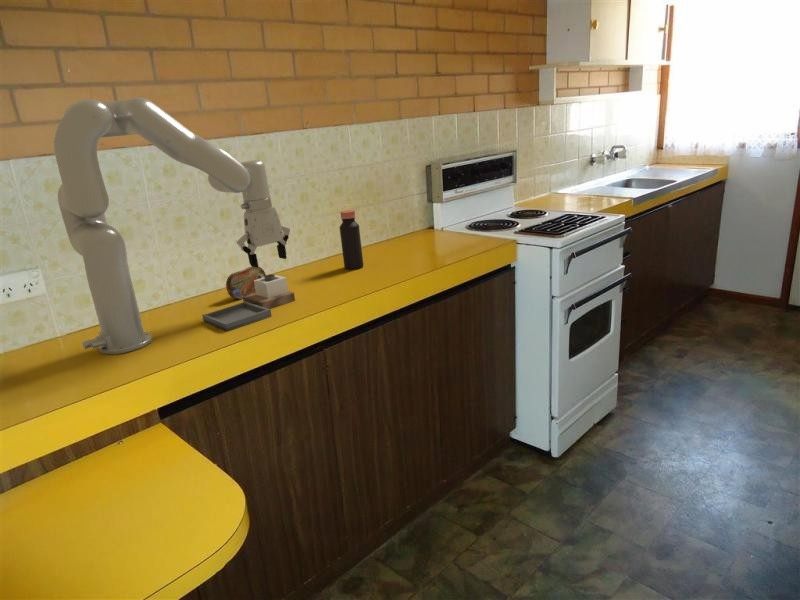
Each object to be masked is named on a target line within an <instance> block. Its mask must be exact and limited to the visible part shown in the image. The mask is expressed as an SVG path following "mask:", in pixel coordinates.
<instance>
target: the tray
mask: <svg viewBox="0 0 800 600" xmlns="http://www.w3.org/2000/svg"><path fill="white" fill-rule="evenodd" d="M271 310H272V309H267V308H264V307H261V306H258V305H255V304H252V303H248V302H243V301H242V302H240V303H237V304H234V305H231V306H230V305H229V306H227V307H224V308H220V309H217V310H214V311H211V312H208V313H205V314H202V316H201V317H202V320H203V323H205V324H208V325H209V326H212V327H216V328H217V329H220V330H221V331H222V330H223V331H225V332H230V331H233V330H235V329H239V328H241V327H245V326H248V325H250V324H254V323H256V322H259V321H262V320H266V319H267V318H271V317H272V312H271Z"/></svg>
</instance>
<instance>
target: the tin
mask: <svg viewBox="0 0 800 600" xmlns="http://www.w3.org/2000/svg"><path fill="white" fill-rule="evenodd" d="M266 275H267V274H266V272H265V270H264V269H263V268H262V267H260V266H258V267H257V268H256V267H252V266H249V267H246V268H244V269H241V270H239V271H235V272H232V273H231V274H229V275H228V277H227V279H226V283H225V286H226V287H225V288H226V290H227V291H226V292H227V294H228V295H229V297H231V298H232V299H238V300H243V297H244V296H247V295H250V294H253V293H256V290H255V284H254V280H257V279H260V278H264V276H266Z"/></svg>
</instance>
